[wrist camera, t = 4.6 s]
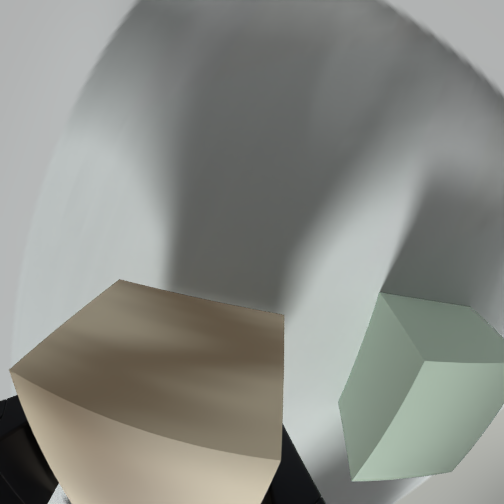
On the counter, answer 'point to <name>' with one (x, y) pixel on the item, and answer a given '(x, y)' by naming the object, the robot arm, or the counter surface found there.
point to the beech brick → (158, 399)
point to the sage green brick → (420, 389)
